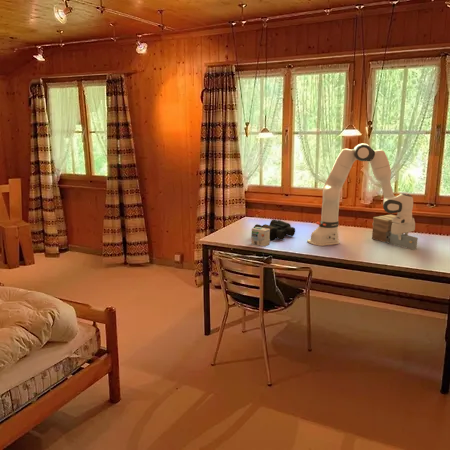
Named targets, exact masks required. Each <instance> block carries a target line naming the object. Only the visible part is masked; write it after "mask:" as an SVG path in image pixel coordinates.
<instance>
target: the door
mask: <svg viewBox="0 0 450 450" xmlns="http://www.w3.org/2000/svg"><path fill="white" fill-rule="evenodd" d="M404 234H405V233H404ZM404 234H402V235H401V237H402V240H399V239H398V238H399V237H398V234H397V235H395V234H392V233H391V231H390V236H388V238H390V242H387V244H389V245H395V246H398V247H401V248H404V249H410V250H413V251H416V250H417V247H418V237H416V236H413V235H409V234H408V235H404Z"/></svg>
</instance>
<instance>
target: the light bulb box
mask: <svg viewBox="0 0 450 450" xmlns="http://www.w3.org/2000/svg"><path fill="white" fill-rule="evenodd" d="M250 242H251V245H255V246H261V247H266V246H268V245H270V229H268V228H261V227H255V228H254V227H252V228H251V241H250Z"/></svg>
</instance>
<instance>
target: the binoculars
mask: <svg viewBox="0 0 450 450" xmlns="http://www.w3.org/2000/svg"><path fill="white" fill-rule="evenodd" d="M255 227H261V228H268V229H270V240H271V241H275V240H277V239H279V240H284V239H285V238H286V236H290V237H294V235H296V228H295V227H294V226H292V225H291V224H290V223H289V222H286V221H283V220H281V219H271V220H270V222H269V224H266V223H265V224H263V225H260V224H258V223H257V224H254V226H253V228H255Z"/></svg>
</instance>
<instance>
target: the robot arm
mask: <svg viewBox="0 0 450 450" xmlns="http://www.w3.org/2000/svg"><path fill="white" fill-rule="evenodd" d="M356 161H359V162H369V164H370V167H371V170H372V171H371V172H372V174H373V176H374V178H375V180H376V181H377V183H379V185H380V187H381V191H382V195H383V200H382V207H383V210H384V211H385V212H386V213H387V214H396V215H397V216H396V217H394V218H393V219H392V222H393V223H392V226H391V233H392V234H395V235H397V234H398V237H399V238H398V239H399V240H402V237H401V235H402V233H404V235H409V233H410V232H414V231H415V230H416V221H415V218H414V217H413V209H414V198H413V196H412V195H411V194H409V193H404V192H403V193H399V195H397V196H396V195H395V193H394V191H393V188H392V184H391V177H392V170H391V166H390V165H391V164H390V162H389V159H388V156H387V154H386V152H385V151H384V150H383V149H376V150H374V149H373V148H372V147H371V146H370V145H369V144H368V143H365V142H364V143H363V142H361V143H358V144H357V145H355V146H354V147H353V148H352V149H350V148H343V149H341V151H340V152H339V154H338V155H337V157H336V159H335V162H334V164H333V166H332V169H331V171H330V173H329V175H328V177H327V179H326V181H325V183H324V186H323V188H322V202H321V219H320V221H316V222H315V223H316V225H318V226H317V228H315V230H313V232H311V235H310V239H307V241H306V242H307V243H308V244H311V245H314V246H319V247H322V246H332V245H339V244H340V238H339V210H340V200H341V199H340V198H341V189H342V188H343V185H344V184H345V182H346V180H347V178H348V176H349V174H350V171H351V169H352V167H353V165H354V163H355V162H356Z"/></svg>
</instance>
